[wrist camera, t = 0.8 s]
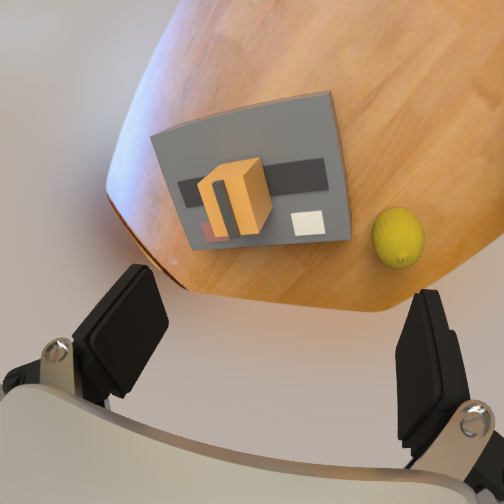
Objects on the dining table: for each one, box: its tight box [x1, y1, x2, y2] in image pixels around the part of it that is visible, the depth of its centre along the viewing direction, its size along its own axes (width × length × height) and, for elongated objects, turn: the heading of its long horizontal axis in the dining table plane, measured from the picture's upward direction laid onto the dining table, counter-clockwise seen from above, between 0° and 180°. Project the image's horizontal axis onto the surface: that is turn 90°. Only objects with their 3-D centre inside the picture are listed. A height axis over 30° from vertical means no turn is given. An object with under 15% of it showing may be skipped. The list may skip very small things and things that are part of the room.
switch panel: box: [150, 91, 352, 251], centre depth 31 cm, size 18×14×5 cm
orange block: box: [197, 157, 273, 239], centre depth 26 cm, size 4×5×6 cm
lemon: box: [372, 207, 424, 269], centre depth 28 cm, size 6×6×8 cm
